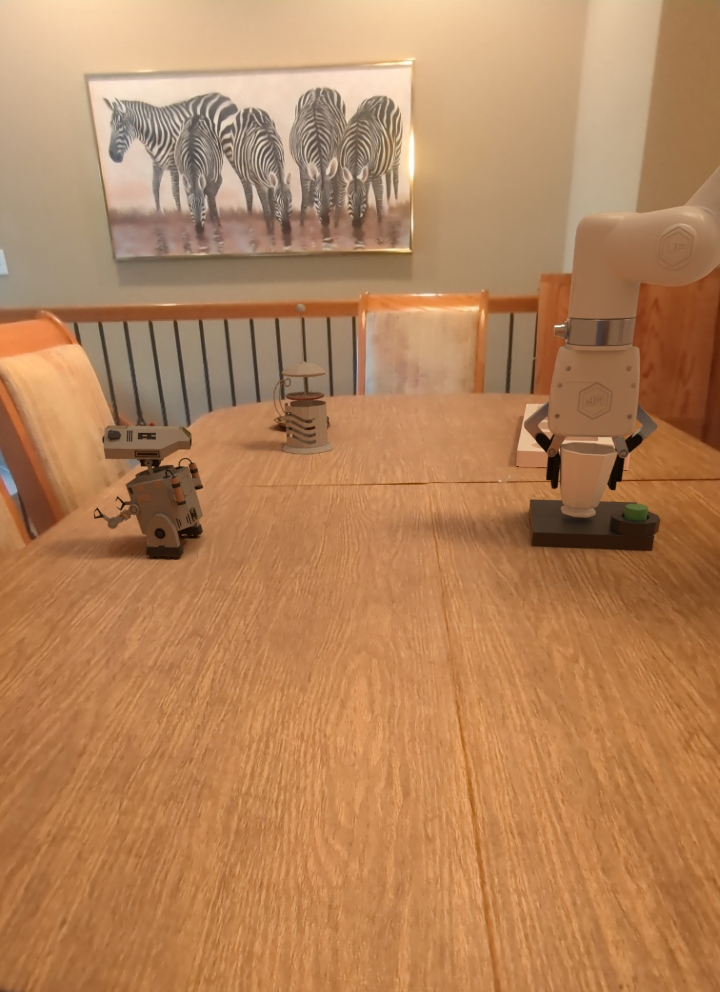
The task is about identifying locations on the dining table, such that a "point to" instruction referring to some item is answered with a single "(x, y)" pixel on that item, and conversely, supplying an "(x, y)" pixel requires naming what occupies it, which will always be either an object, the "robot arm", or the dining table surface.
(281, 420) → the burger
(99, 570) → the dining table surface
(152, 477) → the figurine
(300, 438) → the french press
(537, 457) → the holder
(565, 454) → the cup
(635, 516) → the scale button
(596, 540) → the scale
